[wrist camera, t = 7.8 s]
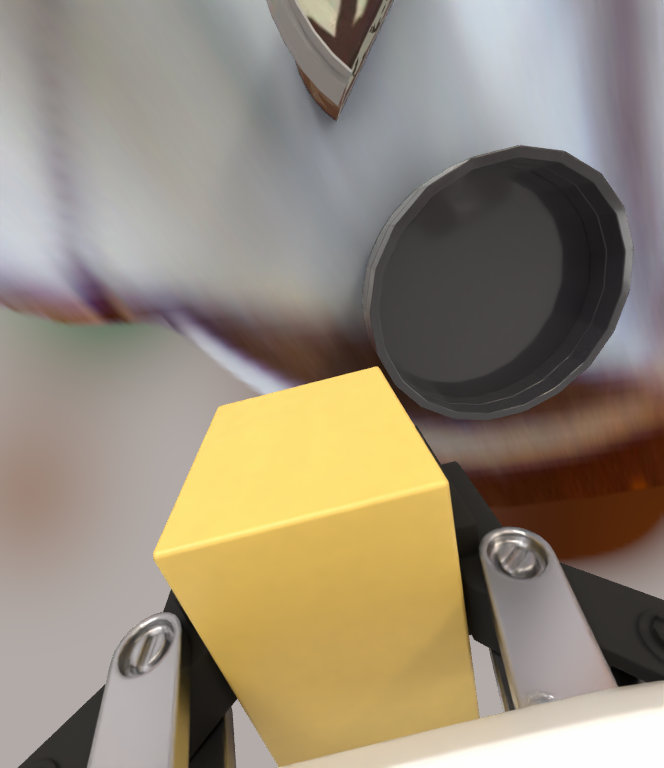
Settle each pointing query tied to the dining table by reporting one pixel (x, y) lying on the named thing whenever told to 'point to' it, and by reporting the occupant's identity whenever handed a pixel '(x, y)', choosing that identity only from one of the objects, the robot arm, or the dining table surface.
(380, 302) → the round cake pan
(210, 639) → the cheese
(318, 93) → the food container
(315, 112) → the dining table surface
